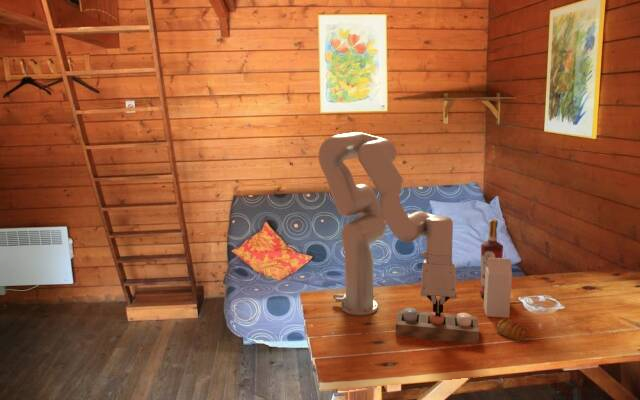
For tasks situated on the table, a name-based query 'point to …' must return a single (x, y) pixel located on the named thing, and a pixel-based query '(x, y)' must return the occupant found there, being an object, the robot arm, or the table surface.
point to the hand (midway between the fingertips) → (437, 314)
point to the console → (437, 328)
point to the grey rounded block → (410, 315)
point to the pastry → (513, 330)
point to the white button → (464, 319)
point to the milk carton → (497, 287)
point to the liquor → (489, 251)
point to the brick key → (436, 319)
